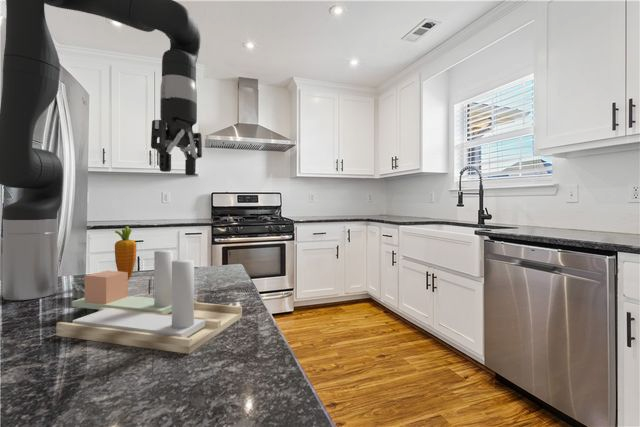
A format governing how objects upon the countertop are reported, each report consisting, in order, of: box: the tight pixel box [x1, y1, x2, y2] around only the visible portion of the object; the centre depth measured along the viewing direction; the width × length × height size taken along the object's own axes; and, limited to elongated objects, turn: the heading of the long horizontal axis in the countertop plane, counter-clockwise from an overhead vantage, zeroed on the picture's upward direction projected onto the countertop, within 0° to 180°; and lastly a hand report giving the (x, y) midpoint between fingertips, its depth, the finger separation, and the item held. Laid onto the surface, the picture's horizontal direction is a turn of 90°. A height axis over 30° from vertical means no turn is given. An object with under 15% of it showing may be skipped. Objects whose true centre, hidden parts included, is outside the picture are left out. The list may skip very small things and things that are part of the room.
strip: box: [72, 259, 205, 337], centre depth 53 cm, size 20×6×11 cm, turn 76°
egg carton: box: [70, 280, 85, 300], centre depth 74 cm, size 11×8×4 cm
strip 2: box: [71, 249, 174, 314], centre depth 63 cm, size 20×6×11 cm, turn 76°
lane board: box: [56, 296, 243, 355], centre depth 57 cm, size 24×16×2 cm, turn 76°
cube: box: [84, 270, 129, 304], centre depth 64 cm, size 5×5×5 cm
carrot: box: [114, 225, 137, 281], centre depth 87 cm, size 5×5×15 cm
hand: (178, 173), depth 74 cm, fingers open, 8 cm apart
